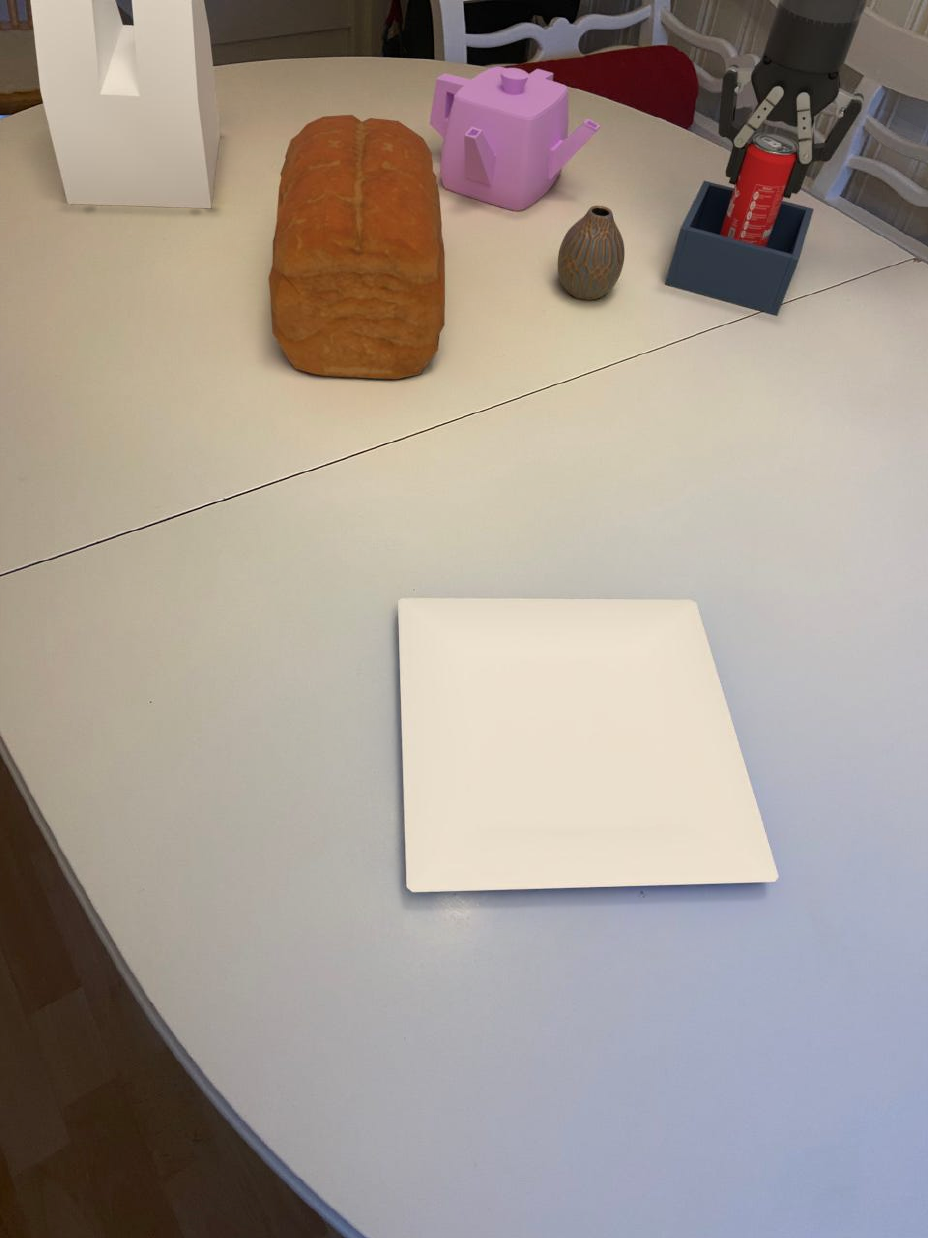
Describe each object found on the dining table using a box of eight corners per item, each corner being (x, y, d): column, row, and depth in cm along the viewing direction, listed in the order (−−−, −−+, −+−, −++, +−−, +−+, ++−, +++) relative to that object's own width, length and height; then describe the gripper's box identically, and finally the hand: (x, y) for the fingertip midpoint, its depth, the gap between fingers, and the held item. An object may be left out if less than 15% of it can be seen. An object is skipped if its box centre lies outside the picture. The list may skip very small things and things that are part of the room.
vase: (546, 298, 98) (559, 217, 92) (560, 267, 103) (575, 188, 96) (609, 313, 98) (627, 234, 91) (621, 281, 102) (640, 203, 95)
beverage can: (739, 270, 101) (777, 158, 92) (705, 248, 104) (739, 136, 94) (770, 258, 103) (811, 148, 94) (737, 237, 106) (773, 127, 97)
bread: (434, 239, 104) (444, 88, 92) (444, 384, 87) (458, 221, 75) (288, 231, 102) (279, 76, 90) (269, 377, 85) (255, 209, 73)
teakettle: (537, 145, 122) (552, 40, 113) (591, 207, 113) (613, 98, 103) (415, 153, 118) (420, 45, 108) (460, 219, 108) (470, 106, 98)
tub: (792, 262, 108) (814, 208, 103) (777, 315, 100) (798, 259, 95) (688, 234, 110) (704, 180, 105) (664, 284, 102) (680, 227, 97)
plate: (396, 613, 69) (398, 595, 67) (688, 615, 71) (696, 597, 70) (405, 905, 54) (406, 890, 53) (770, 894, 57) (781, 880, 55)
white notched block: (92, 127, 114) (39, -127, 95) (220, 133, 116) (193, -115, 97) (67, 203, 102) (1, -71, 83) (211, 208, 104) (178, -58, 85)
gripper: (902, 9, 86) (831, 190, 99) (751, -24, 88) (700, 157, 101) (897, 33, 81) (823, 220, 94) (737, -2, 84) (686, 185, 97)
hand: (760, 187), depth 98 cm, fingers closed on beverage can, 5 cm apart
